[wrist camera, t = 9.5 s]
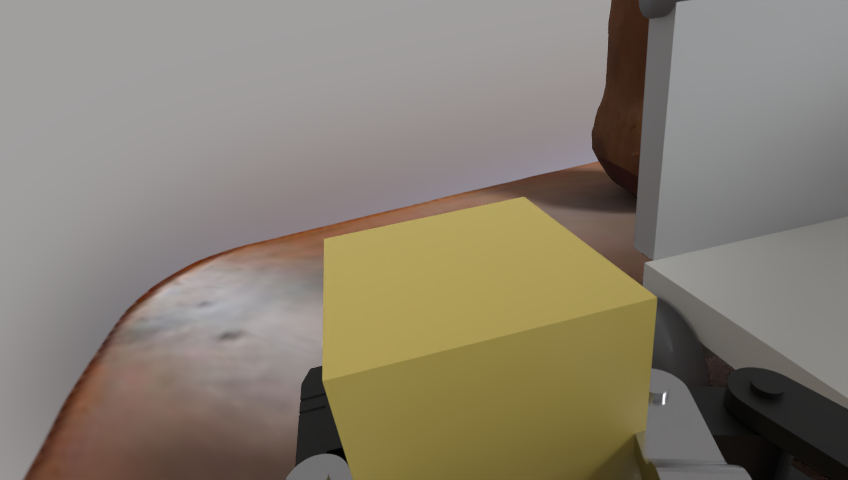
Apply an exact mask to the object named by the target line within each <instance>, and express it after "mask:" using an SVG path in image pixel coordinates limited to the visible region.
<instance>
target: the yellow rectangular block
mask: <svg viewBox="0 0 848 480" xmlns="http://www.w3.org/2000/svg"><path fill="white" fill-rule="evenodd" d="M656 309H657V297H656V296H655V295H654V294H652V293H651V292H650V291H648V290H647V289H646V288H644V287H643V286H642V285H640V284H639V283H638V282H636V281H635V280H634V279H632V278H631V277H630V276H628V275H627V274H626V273H624V272H623V271H622V270H620V269H619V268H618V267H616V266H615V265H614V264H612V263H611V262H610V261H608V260H607V259H606V258H604V257H603V256H602V255H601V254H599V253H598V252H597V251H595V250H594V249H593V248H591V247H590V246H589V245H587V244H586V243H585V242H583V241H582V240H581V239H579V238H578V237H577V236H575V235H574V234H573V233H571V232H570V231H569V230H567V229H566V228H565V227H563V226H562V225H561V224H559V223H558V222H557V221H555V220H554V219H553V218H551V217H550V216H549V215H548V214H546V213H545V212H544V211H542V210H541V209H540V208H538V207H537V206H536V205H534V204H533V203H532V202H530V201H529V200H528V199H526V198H525V197H520V198H516V199H511V200H506V201H502V202H497V203H492V204H487V205H483V206H478V207H473V208H468V209H464V210H459V211H454V212H450V213H445V214H440V215H435V216H431V217H426V218H421V219H416V220H412V221H407V222H402V223H397V224H393V225H388V226H383V227H379V228H374V229H369V230H364V231H360V232H355V233H350V234H345V235H341V236H336V237H331V238H327V239H324V294H323V366H322V382H323V385H324V388H325V391H326V395H327V398H328V401H329V404H330V408H331V411H332V414H333V417H334V420H335V424H336V427H337V430H338V433H339V436H340V440H341V443H342V446H343V449H344V452H345V456H346V459H347V462H348V465H349V469H350V472H351V475H352V478H353V480H642V476H641V473H640V470H639V466H638V463H637V460H636V457H635V453H634V443H635V433H638V432H641V431H645V430H646V423H647V411H648V400H649V389H650V377H651V366H652V354H653V343H654V332H655V320H656Z"/></svg>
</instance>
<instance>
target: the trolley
mask: <svg viewBox="0 0 848 480" xmlns="http://www.w3.org/2000/svg"><path fill="white" fill-rule="evenodd" d="M639 7H640V11H641V13H642V14H643V16H644V17H646V18H647V19H649V30H648V45H647V60H646V74H645V89H644V104H643V119H642V133H641V148H640V163H639V178H638V192H637V207H636V222H635V236H634V248H635V249H636V250H638V251H639V252H641V253H642V254H644V255H645V256H647V257H649V258H650V259H652V260H653V261H650V262H645V263H644V274H643V287H644V288H646V289H647V290H648V291H650V292H651V293H652V294H654V295H655V296H656V297H657V309H656V320H655V332H654V343H653V354H652V366H651V368H652V369H658V370H662V371H665V372H667V373H670V374H672V375H674V376H675V377H677V378H678V379H680V380H681V381H682V382H683V383H684V384H685V385H686V386H690V387H711V385H710V377H709V373H708V368H707V365H706V361H705V358H708V357H712V356H715V355H717V356H719V357H720V358H721V359H722V360H724V361H725V362H726V363H727V364H729V365H730V366H731V367H733V368H734V369H735V370H737V369H740V368H745V367H756V368H763V369H768V370H772V371H775V372H777V373H780V374H782V375H784V376H787V377H788V378H790V379H792V380H794V381H796V382H798V383H800V384H802V385H804V386H805V387H807V388H809V389H811V390H813V391H815V392H817V393H819V394H821V395H822V396H824V397H826V398H828V399H830V400H832V401H834V402H836V403H838V404H839V405H841V406H843V407H845V408H847V409H848V0H639Z"/></svg>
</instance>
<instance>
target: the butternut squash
mask: <svg viewBox="0 0 848 480" xmlns="http://www.w3.org/2000/svg"><path fill="white" fill-rule="evenodd" d="M648 30H649V19H647V18H646V17H644V16H643V14H642V13H641V11H640V7H639V0H612V2H611V10H610V17H609V26H608V33H609V34H608V35H609V37H608V57H607V74H606V87H605V91H604V96H603V99H602V102H601V104H600V106H599V108H598V111H597V114H596V118H595V123H594V127H593V130H592V149H593V151H594V153H595V155H596V157H597V159H598V161H599V162H600V164H601V165H602V167H603V168H604V170H605V171H606V173H607V174H608V176H609V177H610V178H611V179H612V180H613V181H614V182H615V183H617V184H618V185H620V186H622V187H623V188H625V189H626V190H628V191H630V192H631V193H633V194H634V195H635V196H637V192H638V178H639V163H640V148H641V133H642V119H643V104H644V89H645V74H646V60H647V45H648Z"/></svg>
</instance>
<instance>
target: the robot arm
mask: <svg viewBox="0 0 848 480" xmlns="http://www.w3.org/2000/svg"><path fill="white" fill-rule="evenodd" d="M300 400H301V402H300V415H299V425H298V439H297V452H296V464H295V468H294V469H293V470H292V471H291V472H290V474H289V475H288V476H287V478H286V480H353V478H352V475H351V472H350V469H349V465H348V462H347V459H346V456H345V452H344V449H343V446H342V443H341V440H340V436H339V433H338V430H337V427H336V424H335V420H334V417H333V414H332V411H331V408H330V404H329V401H328V398H327V395H326V391H325V388H324V385H323V382H322V366H320V367H316V368H312V369H310V370H309V372H308V374H307V376H306V377H305V379H304V381H303V382H302V385H301V398H300ZM634 453H635V457H636V460H637V463H638V466H639V470H640V473H641V476H642V480H813V479H811V478H810V477H808V476H807V475H805V474H804V473H802V472H801V471H799V470H798V469H796V468H795V467H793V466H792V465H791V464H792V461H793V457H795V458H797V459H798V460H800V461H801V462H803V463H804V464H806V465H807V466H809V467H811V468H812V469H814V470H815V471H817V472H818V473H820V474H821V475H823V476H824V477H826V478H827V479H829V480H848V409H847V408H845V407H843V406H841V405H839V404H838V403H836V402H834V401H832V400H830V399H828V398H826V397H824V396H822V395H821V394H819V393H817V392H815V391H813V390H811V389H809V388H807V387H805V386H804V385H802V384H800V383H798V382H796V381H794V380H792V379H790V378H788V377H787V376H784V375H782V374H780V373H777V372H775V371H772V370H768V369H763V368H756V367H745V368H740V369H737V370H734V371H733V372H731V373H730V374H729V376H728V379H727V383H726V387H690V386H686V385H685V384H684V383H683V382H682V381H681V380H680V379H678V378H677V377H675V376H674V375H672V374H670V373H667V372H665V371H662V370H658V369H652V368H651V377H650V389H649V400H648V411H647V423H646V430H645V431H641V432H638V433H635V443H634Z"/></svg>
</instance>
